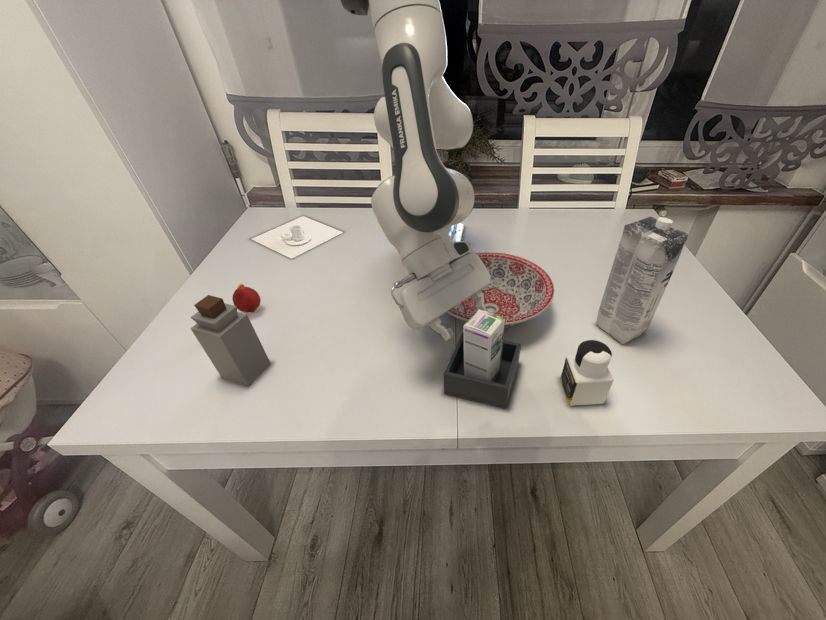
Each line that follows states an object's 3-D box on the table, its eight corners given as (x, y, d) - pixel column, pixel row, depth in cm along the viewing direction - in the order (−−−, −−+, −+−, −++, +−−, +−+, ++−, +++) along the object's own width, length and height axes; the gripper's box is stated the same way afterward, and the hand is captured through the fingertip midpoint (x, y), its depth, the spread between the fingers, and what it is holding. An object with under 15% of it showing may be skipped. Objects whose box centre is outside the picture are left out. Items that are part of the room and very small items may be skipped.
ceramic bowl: (534, 364, 84) (539, 337, 78) (411, 332, 91) (408, 305, 85) (559, 290, 103) (564, 264, 98) (457, 269, 111) (456, 243, 105)
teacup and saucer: (278, 240, 121) (273, 228, 118) (299, 230, 126) (295, 218, 123) (296, 249, 118) (292, 236, 115) (317, 238, 123) (313, 226, 120)
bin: (462, 351, 86) (462, 331, 82) (518, 363, 84) (521, 343, 80) (444, 394, 78) (443, 373, 74) (505, 408, 75) (508, 388, 71)
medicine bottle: (559, 379, 81) (570, 336, 73) (593, 377, 81) (608, 334, 73) (569, 406, 76) (582, 363, 67) (604, 404, 76) (622, 361, 68)
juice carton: (623, 349, 87) (667, 239, 69) (589, 323, 94) (621, 216, 75) (649, 335, 91) (698, 227, 72) (615, 311, 97) (651, 206, 79)
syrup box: (488, 390, 77) (492, 335, 67) (462, 378, 79) (462, 324, 69) (501, 371, 81) (506, 317, 71) (476, 361, 83) (478, 307, 73)
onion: (256, 320, 93) (243, 293, 88) (234, 317, 94) (220, 290, 89) (269, 306, 98) (258, 279, 92) (248, 303, 98) (236, 276, 93)
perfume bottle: (270, 363, 83) (237, 295, 71) (248, 386, 79) (208, 317, 66) (245, 356, 85) (208, 287, 72) (221, 377, 80) (177, 308, 68)
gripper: (393, 281, 65) (436, 351, 67) (474, 238, 76) (509, 299, 78) (380, 292, 71) (420, 356, 73) (458, 250, 81) (491, 307, 83)
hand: (467, 326), depth 75 cm, fingers open, 8 cm apart
